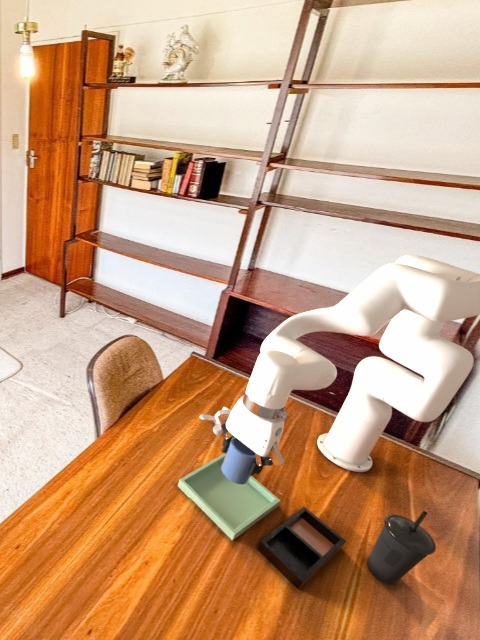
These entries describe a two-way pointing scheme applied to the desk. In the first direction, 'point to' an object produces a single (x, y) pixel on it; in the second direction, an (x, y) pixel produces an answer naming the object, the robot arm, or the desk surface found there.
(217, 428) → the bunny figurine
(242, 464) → the blue cup
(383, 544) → the drinking cup
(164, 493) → the desk surface
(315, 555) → the black divided tray
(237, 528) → the tray
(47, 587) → the desk surface
